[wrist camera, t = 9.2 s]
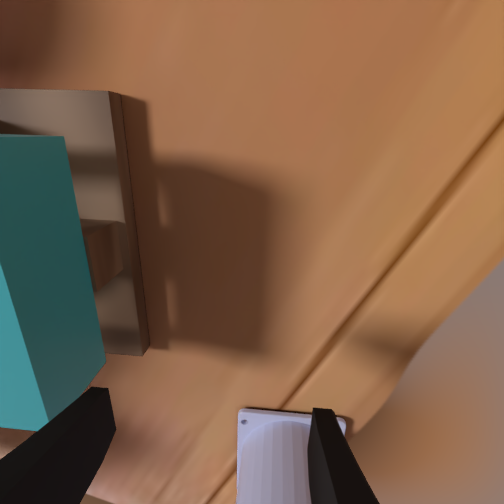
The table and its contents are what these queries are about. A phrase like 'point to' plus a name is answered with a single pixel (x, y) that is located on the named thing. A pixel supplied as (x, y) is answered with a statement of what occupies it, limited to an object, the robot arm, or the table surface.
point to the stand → (94, 198)
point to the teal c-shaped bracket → (42, 286)
